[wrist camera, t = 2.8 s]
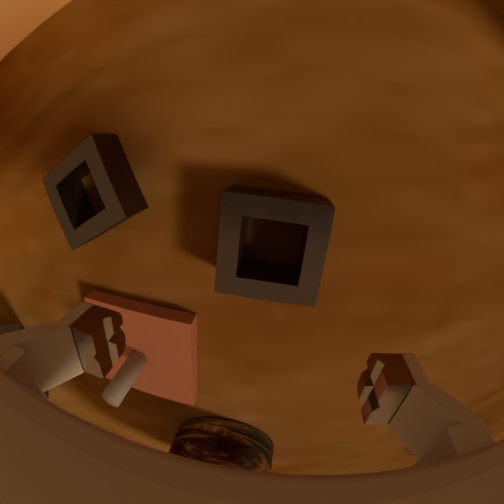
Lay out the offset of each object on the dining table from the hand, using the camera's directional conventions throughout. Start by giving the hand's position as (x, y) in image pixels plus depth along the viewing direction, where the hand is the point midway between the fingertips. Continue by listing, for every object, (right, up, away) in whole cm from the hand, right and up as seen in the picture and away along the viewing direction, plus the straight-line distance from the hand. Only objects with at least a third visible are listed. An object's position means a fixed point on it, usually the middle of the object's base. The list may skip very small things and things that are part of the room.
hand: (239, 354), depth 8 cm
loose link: (-11, +8, +10) cm, 17 cm away
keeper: (-9, -6, +15) cm, 19 cm away
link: (+2, +4, +10) cm, 11 cm away
